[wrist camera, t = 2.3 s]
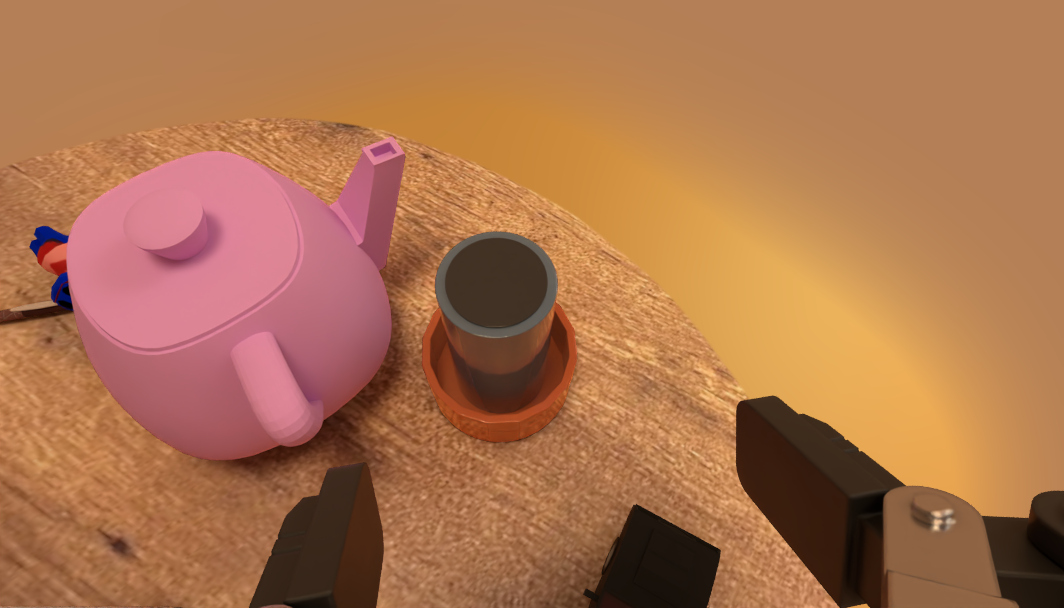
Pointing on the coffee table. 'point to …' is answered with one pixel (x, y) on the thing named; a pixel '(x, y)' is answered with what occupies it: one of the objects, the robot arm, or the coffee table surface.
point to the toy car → (656, 567)
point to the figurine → (54, 262)
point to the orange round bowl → (500, 424)
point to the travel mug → (86, 607)
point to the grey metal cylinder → (498, 317)
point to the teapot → (235, 297)
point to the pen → (30, 310)
